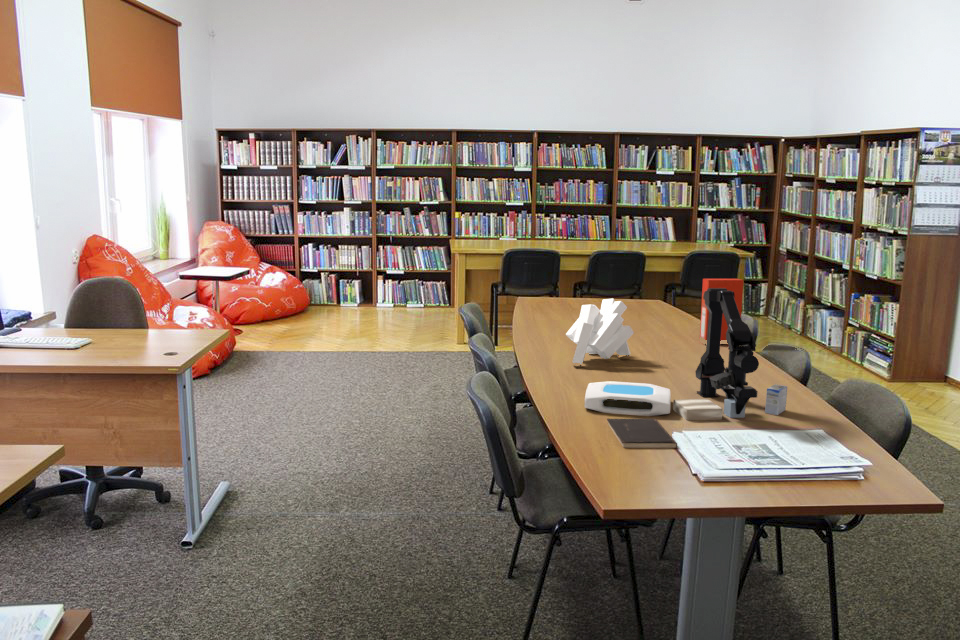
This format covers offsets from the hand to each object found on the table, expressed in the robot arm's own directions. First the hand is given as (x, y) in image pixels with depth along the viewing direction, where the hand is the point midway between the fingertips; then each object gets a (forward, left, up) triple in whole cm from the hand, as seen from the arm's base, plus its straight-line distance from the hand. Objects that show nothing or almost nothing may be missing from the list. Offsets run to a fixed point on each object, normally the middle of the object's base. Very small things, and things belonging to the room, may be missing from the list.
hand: (734, 411), depth 252 cm
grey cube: (0, 0, -1) cm, 1 cm away
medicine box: (-3, +16, -2) cm, 16 cm away
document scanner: (-14, -32, -2) cm, 35 cm away
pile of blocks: (-87, -23, -2) cm, 89 cm away
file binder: (-121, +48, -2) cm, 130 cm away
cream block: (-2, -12, -2) cm, 12 cm away
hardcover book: (+18, -38, -2) cm, 42 cm away
